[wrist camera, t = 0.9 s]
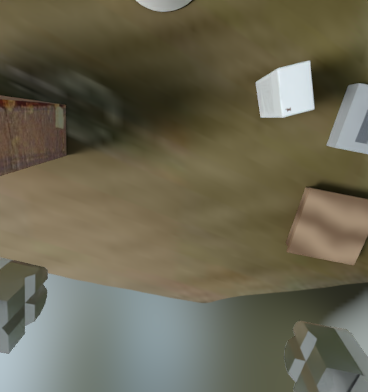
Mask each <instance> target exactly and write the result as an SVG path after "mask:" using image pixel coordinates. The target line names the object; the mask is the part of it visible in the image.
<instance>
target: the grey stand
mask: <svg viewBox="0 0 368 392" xmlns="http://www.w3.org/2000/svg"><path fill="white" fill-rule="evenodd" d="M367 110H368V85H366V84H361V83H357V84H352V85H348V87H347V90H346V93H345V96H344V98H343V101H342V104H341V107H340V109H339V112H338V115H337V118H336V120H335V123H334V126H333V129H332V131H331V134H330V137H329V140H328V142H327V145H326V146H330V147H335V148H340V149H345V150H350V151H355V152H360V153H365V154H368V144H363V143H358V142H355V140H356V138H357V135H358V133H359V130H360V128H361V125H362V123H363V120H364V117H365V115H366V112H367Z"/></svg>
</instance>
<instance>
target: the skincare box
mask: <svg viewBox="0 0 368 392" xmlns="http://www.w3.org/2000/svg"><path fill="white" fill-rule="evenodd" d="M256 89H257V96H258V103H259V110H260V117H261V118H278V117H280V118H284V117H287V116H291V115H295V114H299V113H303V112H307V111H311V110H314V109H315V107H314V96H313V86H312V76H311V65H310V61H305V62H301V63H296V64H292V65H288V66H284V67H280V68H277V69H276V70H274V71H273V72H271V73H269V74H268V75H266V76H264V77H263V78H261V79H260V80H258V81H256Z"/></svg>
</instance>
